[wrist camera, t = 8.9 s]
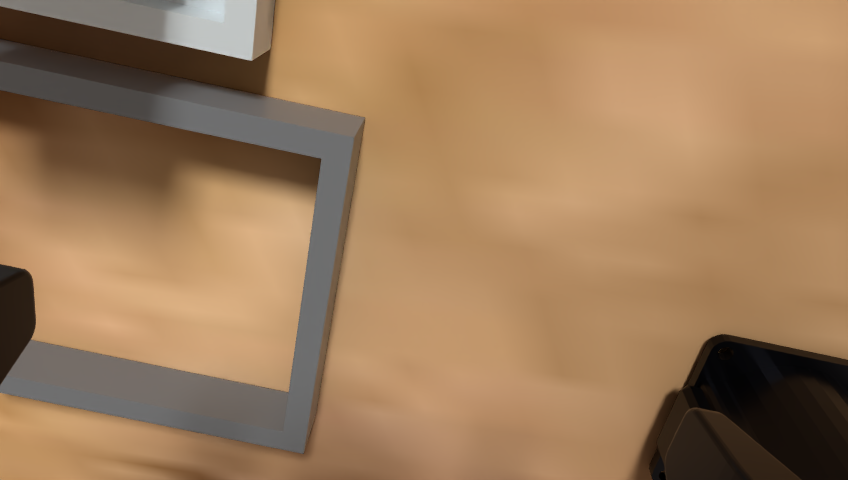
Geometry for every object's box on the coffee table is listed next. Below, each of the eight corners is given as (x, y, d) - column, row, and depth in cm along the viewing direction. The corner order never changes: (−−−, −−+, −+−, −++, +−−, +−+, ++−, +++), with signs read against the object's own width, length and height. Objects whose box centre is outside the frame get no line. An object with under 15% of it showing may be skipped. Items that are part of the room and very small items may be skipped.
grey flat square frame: (365, 117, 20) (354, 137, 18) (315, 415, 25) (303, 453, 23) (-51, 28, 20) (-104, 39, 18) (-15, 348, 25) (-54, 382, 23)
